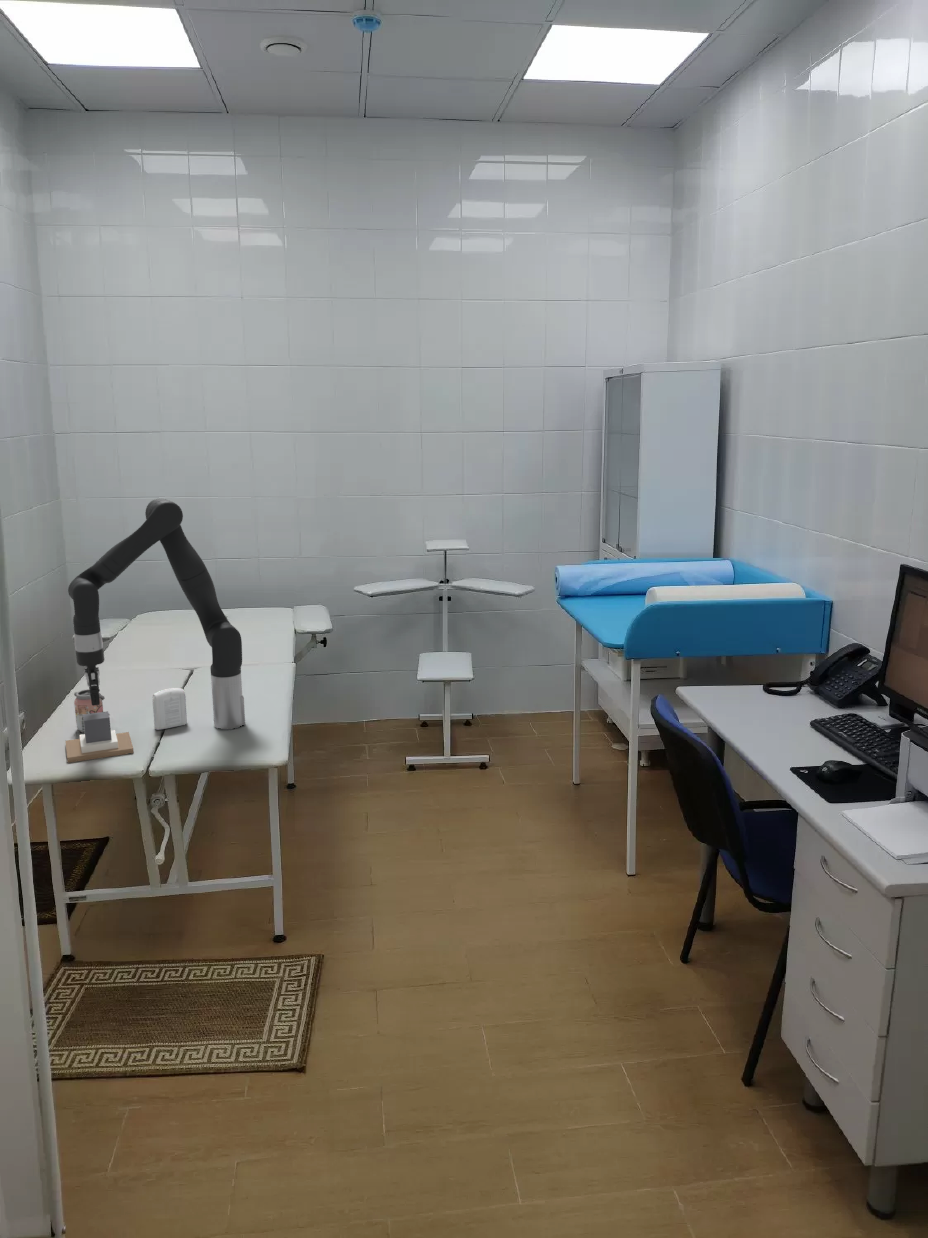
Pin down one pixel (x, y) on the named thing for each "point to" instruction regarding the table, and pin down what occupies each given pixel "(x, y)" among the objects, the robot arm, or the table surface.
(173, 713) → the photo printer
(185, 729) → the table surface
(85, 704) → the beverage can
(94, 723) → the plug
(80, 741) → the socket
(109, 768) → the table surface
